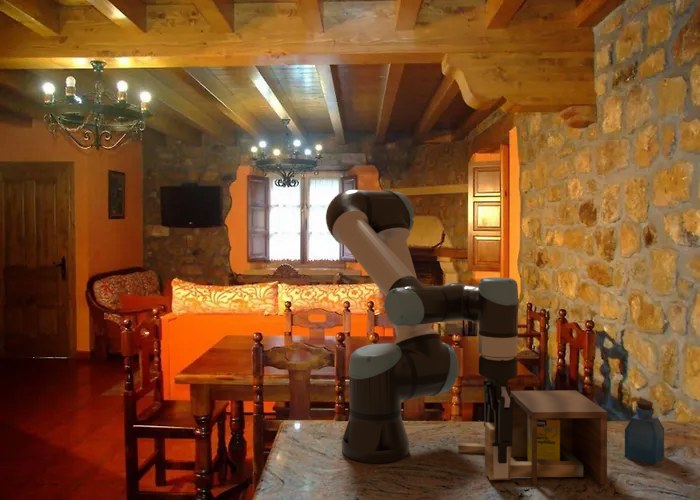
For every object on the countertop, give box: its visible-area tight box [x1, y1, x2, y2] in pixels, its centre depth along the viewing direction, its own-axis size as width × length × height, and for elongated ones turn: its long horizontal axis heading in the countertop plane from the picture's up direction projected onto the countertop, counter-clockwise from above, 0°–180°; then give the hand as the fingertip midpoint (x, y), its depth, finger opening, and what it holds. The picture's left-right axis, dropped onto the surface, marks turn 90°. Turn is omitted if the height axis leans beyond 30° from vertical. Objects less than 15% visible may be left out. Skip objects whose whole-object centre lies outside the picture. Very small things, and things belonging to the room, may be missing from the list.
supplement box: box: [526, 414, 560, 462], centre depth 117 cm, size 6×6×11 cm
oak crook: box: [484, 422, 584, 481], centre depth 116 cm, size 19×12×10 cm, turn 91°
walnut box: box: [510, 389, 608, 486], centre depth 116 cm, size 14×15×14 cm
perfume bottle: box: [624, 399, 665, 466], centre depth 122 cm, size 6×6×12 cm
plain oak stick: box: [457, 442, 485, 454], centre depth 125 cm, size 12×2×2 cm, turn 81°
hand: (497, 472), depth 112 cm, fingers closed on oak crook, 4 cm apart
